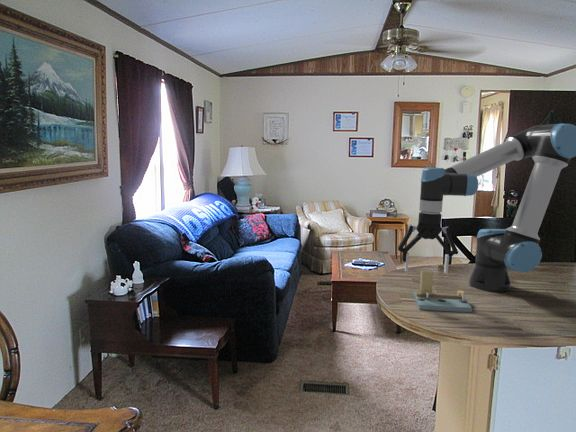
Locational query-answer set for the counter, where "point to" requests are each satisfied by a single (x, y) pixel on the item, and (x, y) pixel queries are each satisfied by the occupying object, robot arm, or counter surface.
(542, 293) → the counter surface
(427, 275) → the block
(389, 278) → the counter surface
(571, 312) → the counter surface
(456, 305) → the board
